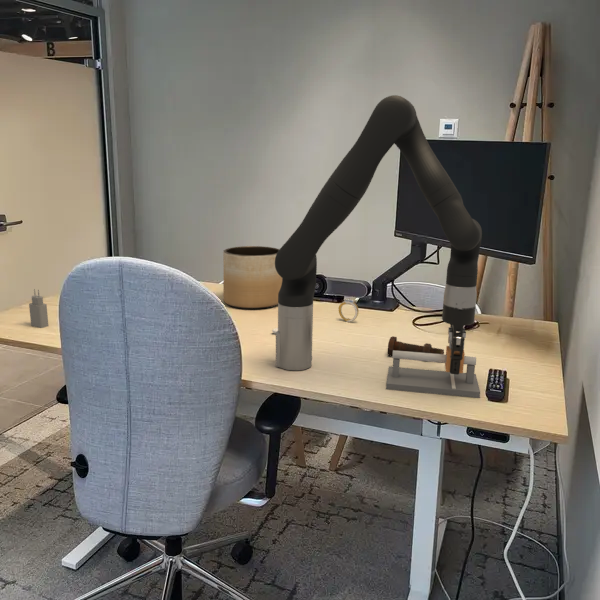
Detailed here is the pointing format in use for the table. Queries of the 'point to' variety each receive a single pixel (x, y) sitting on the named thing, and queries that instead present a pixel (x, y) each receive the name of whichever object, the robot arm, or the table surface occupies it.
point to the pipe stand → (432, 376)
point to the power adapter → (38, 312)
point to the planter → (251, 277)
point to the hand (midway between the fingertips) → (453, 368)
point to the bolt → (411, 347)
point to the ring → (350, 301)
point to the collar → (448, 361)
